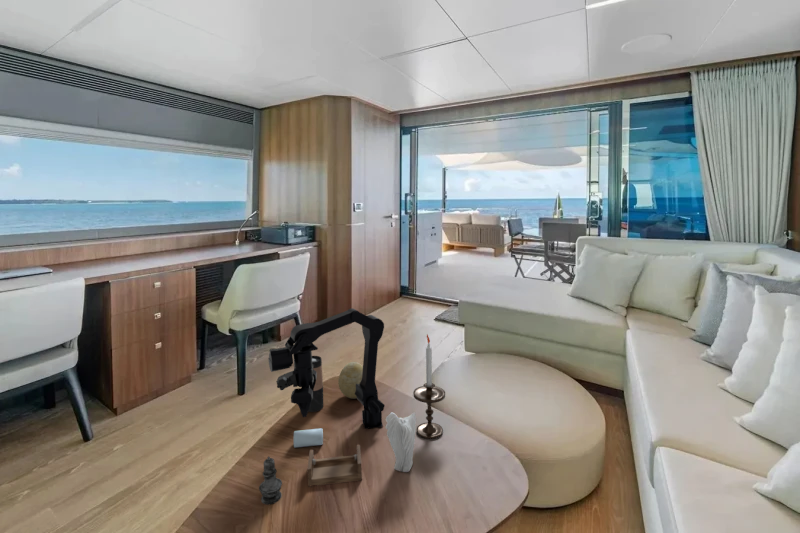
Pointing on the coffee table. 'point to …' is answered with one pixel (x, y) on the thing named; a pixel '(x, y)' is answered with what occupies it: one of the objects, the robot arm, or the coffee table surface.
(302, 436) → the roll
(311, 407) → the travel mug
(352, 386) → the fossilized egg
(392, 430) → the white angel figurine
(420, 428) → the candlestick
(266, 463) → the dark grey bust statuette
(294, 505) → the coffee table surface
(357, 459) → the holder
